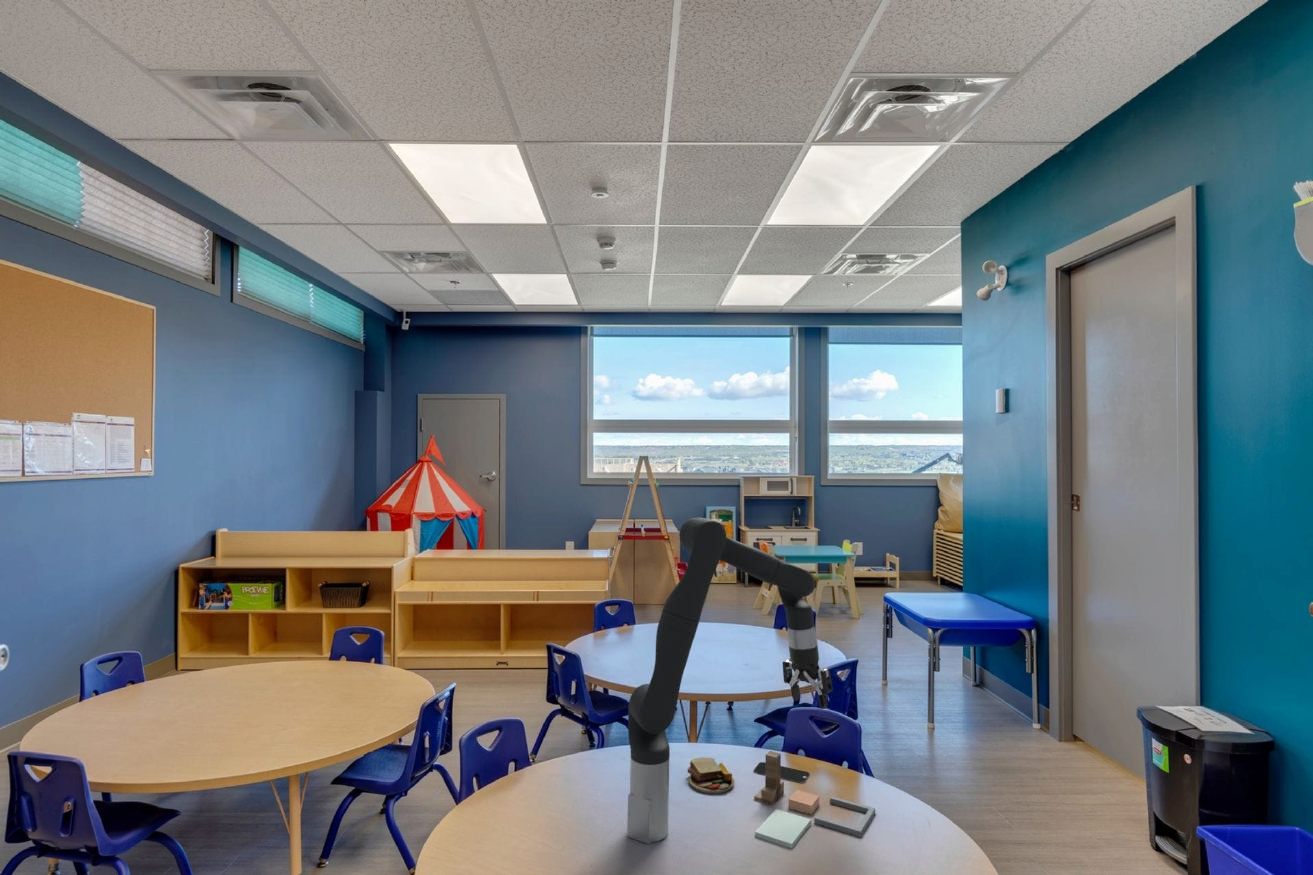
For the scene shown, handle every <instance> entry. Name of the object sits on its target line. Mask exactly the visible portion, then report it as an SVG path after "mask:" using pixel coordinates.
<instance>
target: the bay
mask: <svg viewBox="0 0 1313 875" xmlns="http://www.w3.org/2000/svg"><path fill="white" fill-rule="evenodd" d="M832 803H833V805H836V806H839V807H844V808H847V809H850V810H854V811H857V812H861V813H864V814H865V815H864V816H863V818H862V819H861V821H860V822H859V824H858V825H857V827H855V826H852V825H847V824H845V823H842V822H837V821H834V820H831V819H828V818H824V817H821V816H818V815H815V817H813V819H814V820H813V822H815V823H814V824H816V823H817V824H816V825H819V826H822V825H824V826H823V827H826V828H829V827H830V829H834V830H836V831H840V832H843V833H846V834H849V835H853V836H856V837H859V838H861V837H862V835H863V834H864V832H865V831H866V829H867V827H868V826H869V824H870V822H872V821H871V820H872V819H873V817H874V816H875V815H876V807H873V806H867V805H864V804H860V803H856V802H853V801H850V800H847V799H842V798H839V797H836V796H832V795H831V796H830V798H829V804H832Z"/></svg>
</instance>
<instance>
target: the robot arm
mask: <svg viewBox="0 0 1313 875" xmlns="http://www.w3.org/2000/svg"><path fill="white" fill-rule="evenodd" d="M678 536H679V541H680V543H681V545H682V547H683V548H684V549H685V550H686V551H687V552H689V553H690V556H689V559H688V563H687V565H686V566H687V567H686V570H685V572H684V574H683V575H682V577H681V579H680V580H679V582H678V583H677V584H676V585H675V587H674V588H673V590H672V591H671V593H670V594H669V595H668V597H667V599H666V600H665V603H664V606H663V609H662V611H661V614H660V617H659V620H658V624H657V627H656V628H657V629H656V636H655V658H654V659H655V661H654V668H653V673H652V676H651V679H650V682H649V683H644V684H641V685H639V686H637V687H636V688H635V689H634V690H633V692H632V693H631V696H630V698H629V700H628V701H629V702H628V713H627V716H628V717H627V718H628V721H627V722H628V724H627V725H628V726H627V727H628V730H627V733H628V743H629V744H628V745H629V747H630V770H629V771H630V772H629V774H630V776H629V778H630V779H629V793H628V796H627V830H626V832H627V834H626V835H627V837H629V838H631V839H634V840H637V841H639V842H641V843H645V844H648V845H650V844H652V843H654V842H659V841H661V840H663V839H665V838H667V836H668V834H669V809H670V808H669V806H670V805H669V804H670V803H669V801H670V798H669V797H670V795H669V794H670V749H671V748H670V744H669V741H668V737H667V732H666V731H667V729H668V728H669V727H670V725H671V724H672V722H673V720H674V718H675V714H676V710H677V705H678V699H679V694H680V688H681V685H682V679H683V674H684V672H685V669H686V666H687V663H688V659H689V656H690V653H691V652H690V651H691V650H692V649H691V648H692V645H693V642H694V639H695V637H696V634H697V630H698V626H699V623H700V619H701V616H702V612H703V608H704V605H705V602H706V600H707V596H708V592H709V590H710V585H711V582H712V580H713V578H714V575H715V572H716V570H717V567H718V566H719V562H720V561H721V562H724V563H726V564H728V565H730V566H732V567H734V568H736V569H738V570H740V571H742V572H744V573H746V574H747V575H749V576H751V577H753V578H755V579H758V580H759V581H763V582H764V583H766V584H770V585H773V586H776V587H777V591H778V594H779V597H780V599H781V604H782V606H783V608H784V610H785V611H784V612H785V614H786V615H785V616H786V626H787V641H788V650H789V651H788V652H789V659H787V660H784V661H782V673H783V674H782V675H783V682H784V684H788V685H789V687H790V692H791V698H792V700H793V701H795V702H797V701H798V700H801V691H800V684H799V683H800V682H806V683H807V684H810V685H811V687H812V688H814V689H815V691H816V692H817V699H818V708H820V709H823V710H824V709H825V708H826V707H827V706H828V694H830V693H831V692H833V690H834V688H833V682H832V676H831V671H830V668H828V667H826V668H821V667H820V665H819V660H820V656H819V647H818V638H817V637H818V636H817V632H816V628H815V620H814V612H813V608H812V606H811V605H810V604H809V603H807V601H805V599H804V598H805V597H808V596H811V594H813V592H814V590H815V587H816V581H815V578H814V576H813V575H812V574H811V572H809V571H808V570H806V569H804V568H802V567H799V566H797V565H794V564H791V563H789V562H788V563H787V562H786V561H783V560H781V559H780V558H778V557H776V556H774V555H772V554H770V553H768V552H766V551H763V550H761V549H759V548H757V547H754V546H751V545H749V544H746V543H742V542H740V541H738V540H735V539H733V538H731V537H728V536H727V531H726V529H725V526H724V525H723V524H722V523H721V522H719V521H717V520H715V519H710V518H705V517H692V518H690V519H689V518H688V519H687V520H686V521H685V522H684V523H682V525H681V526H680V530H679V533H678ZM816 680H817V682H816Z"/></svg>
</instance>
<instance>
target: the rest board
mask: <svg viewBox="0 0 1313 875" xmlns="http://www.w3.org/2000/svg"><path fill="white" fill-rule="evenodd" d="M811 824H812V819H811V818H808V817H803V816H800V815H797V814H794V813H790V812H788V811H787V812H786V811H783V810H781V809H778V808H775V810H774V811H773V812H772V813H771V814H770V815H769V816H768V817H767V819H765V820H764V821H763V823H761V825H760V826H759V827H758V828H757V829H756V830H755V831H754V837H756V838H759V839H762V840H765V841H768V842H772V843H774V844H777V845H780V846H783V847H785V848H786V847H787V848H789V849H793V847H794V846H795V845H796V844H797V842H798V841H799V840H800V838H801V837H802V836H803V835H804V834H805V832H806V831H807V830H808V829H809V827H810V826H811ZM806 829H807V830H806Z"/></svg>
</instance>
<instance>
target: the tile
mask: <svg viewBox="0 0 1313 875" xmlns="http://www.w3.org/2000/svg"><path fill="white" fill-rule="evenodd" d="M818 805H819V806H820V795H818V794H817V795H816V794H813V793H809V792H806V791H802V790H799V789H796V790H795V792H793V793H792V795H791V796H790V797H789V798H788V808H789V809H791V810H794V809H796V811H798V812H801V813H805V812H806V814H808V813H809V814H808V815H812V814H813V813H814V812H815V811H816V810H817V808H818V807H819V806H818ZM817 806H818V807H817ZM816 807H817V808H816ZM814 810H815V811H814Z"/></svg>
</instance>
